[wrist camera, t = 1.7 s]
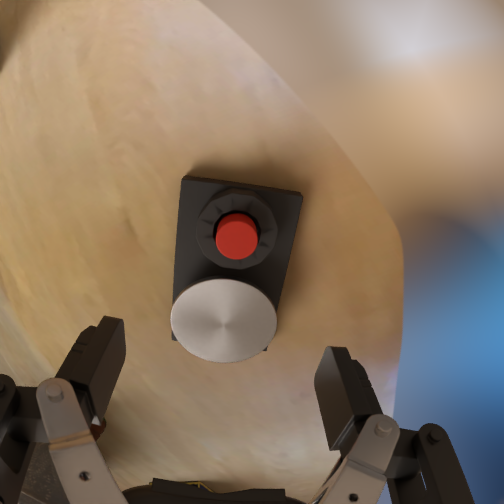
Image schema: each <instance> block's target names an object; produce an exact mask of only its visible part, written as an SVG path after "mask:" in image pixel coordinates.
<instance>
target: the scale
mask: <svg viewBox="0 0 504 504" xmlns="http://www.w3.org/2000/svg"><path fill="white" fill-rule="evenodd" d="M302 200H303V196H302V195H301V193H300V192H295V191H290V190H284V189H278V188H271V187H265V186H259V185H252V184H245V183H239V182H231V181H224V180H217V179H209V178H201V177H193V176H184V177H183V178H182V181H181V190H180V200H179V211H178V223H177V235H176V249H175V265H174V284H173V304H174V302H175V300H176V298H177V296H178V295H179V294H180V293H181V291H182V290H183V289H184V288H186V287H187V286H188V285H190V284H191V283H193V282H195V281H197V280H200V279H202V278H206V277H210V276H220V275H225V276H234V277H238V278H242V279H245V280H247V281H249V282H252V283H253V284H255V285H257V286H258V287H259V288H261V289H262V290H263V291H264V292H265V293H266V294H267V295H268V297H269V298H270V299H271V301H272V303H273V305H274V308H275V311H276V312H277V308H278V304H279V300H280V296H281V292H282V287H283V283H284V279H285V275H286V271H287V267H288V262H289V258H290V254H291V249H292V245H293V241H294V236H295V232H296V228H297V223H298V219H299V214H300V210H301V205H302ZM233 213H241V214H244V215H246V216H248V217H250V218H251V219H252V220H253V222H254V223H255V226H256V230H257V237H258V243H257V247H256V249H255V250H254V252H253V253H252V254H251V255H249V256H248V257H246V258H243V259H230V258H228V257H226V256H224V255H223V254H222V253H221V252H220V251H219V250H218V248H217V245H216V234H217V228H218V225H219V223H220V221H221V220H222V219H223V218H224V217H226V216H227V215H229V214H233ZM172 308H173V307H172ZM172 340H174V341H178V340H177V338H176V337H175V335H174V333H173V330H172ZM267 347H268V346H267ZM267 347H266V348H265V349H264V350H263V351H267Z"/></svg>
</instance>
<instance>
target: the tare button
mask: <svg viewBox="0 0 504 504" xmlns="http://www.w3.org/2000/svg"><path fill="white" fill-rule="evenodd" d="M257 243H258V237H257V230H256V226H255V223H254V222H253V220H252V219H251V218H250V217H248V216H246V215H244V214H241V213H233V214H229V215H227V216H226V217H224V218H223V219H222V220H221V221H220V223H219V225H218V228H217V234H216V245H217V248H218V250H219V251H220V252H221V253H222V254H223V255H224V256H226V257H228V258H230V259H243V258H246V257H248V256H249V255H251V254H252V253H253V252H254V250H255V249H256V247H257Z"/></svg>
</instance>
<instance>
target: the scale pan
mask: <svg viewBox="0 0 504 504" xmlns="http://www.w3.org/2000/svg"><path fill="white" fill-rule="evenodd" d="M171 326H172V330H173V333H174V335H175V337H176V338H177V340H178V341H179V343H180V344H181V345H182V346H183V347H184V348H185V349H186V350H188V351H189V352H190V353H192V354H194V355H195V356H197V357H199V358H202V359H205V360H208V361H212V362H218V363H233V362H239V361H243V360H246V359H249V358H251V357H253V356H255V355H257V354H259V353H260V352H261V351H263V350H264V349H265V348H266V347H267V346H268V345H269V343H270V342H271V340H272V339H273V337H274V334H275V332H276V327H277V317H276V311H275V308H274V305H273V303H272V301H271V299H270V298H269V297H268V295H267V294H266V293H265V292H264V291H263V290H262V289H261V288H259V287H258V286H257V285H255V284H253V283H252V282H249V281H247V280H245V279H242V278H238V277H234V276H225V275H220V276H210V277H206V278H202V279H200V280H197V281H195V282H193V283H191V284H190V285H188V286H187V287H186V288H184V289H183V290H182V291H181V293H180V294H179V295H178V296H177V298H176V300H175V302H174V304H173V308H172V311H171Z"/></svg>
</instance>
